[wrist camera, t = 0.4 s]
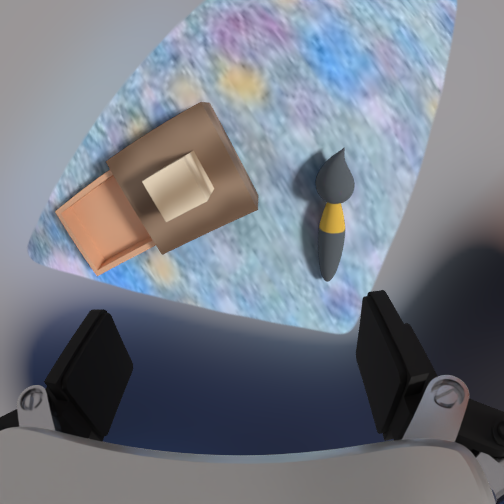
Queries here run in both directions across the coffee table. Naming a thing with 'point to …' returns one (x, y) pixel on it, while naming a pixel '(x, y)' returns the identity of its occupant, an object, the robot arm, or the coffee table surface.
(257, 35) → the coffee table surface
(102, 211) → the tray
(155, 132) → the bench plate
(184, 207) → the beech block
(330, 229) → the paintbrush
